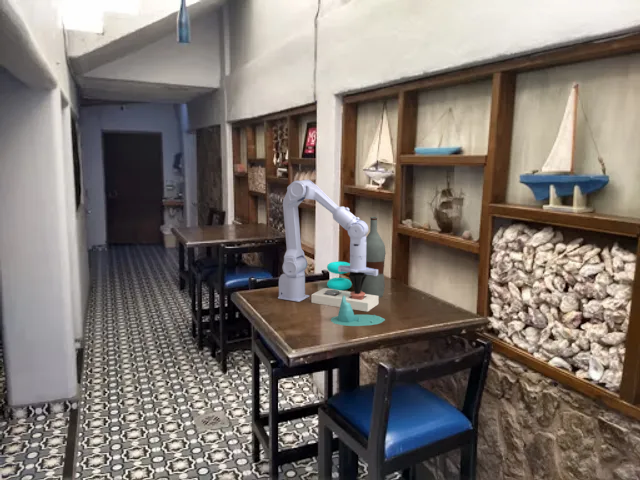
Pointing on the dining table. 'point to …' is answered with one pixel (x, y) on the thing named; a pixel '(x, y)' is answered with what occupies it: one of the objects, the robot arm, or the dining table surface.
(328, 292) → the grey plug
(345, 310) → the teal witch hat
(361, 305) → the socket block
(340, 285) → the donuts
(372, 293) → the bottle
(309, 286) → the dining table surface
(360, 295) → the red plug
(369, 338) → the dining table surface
